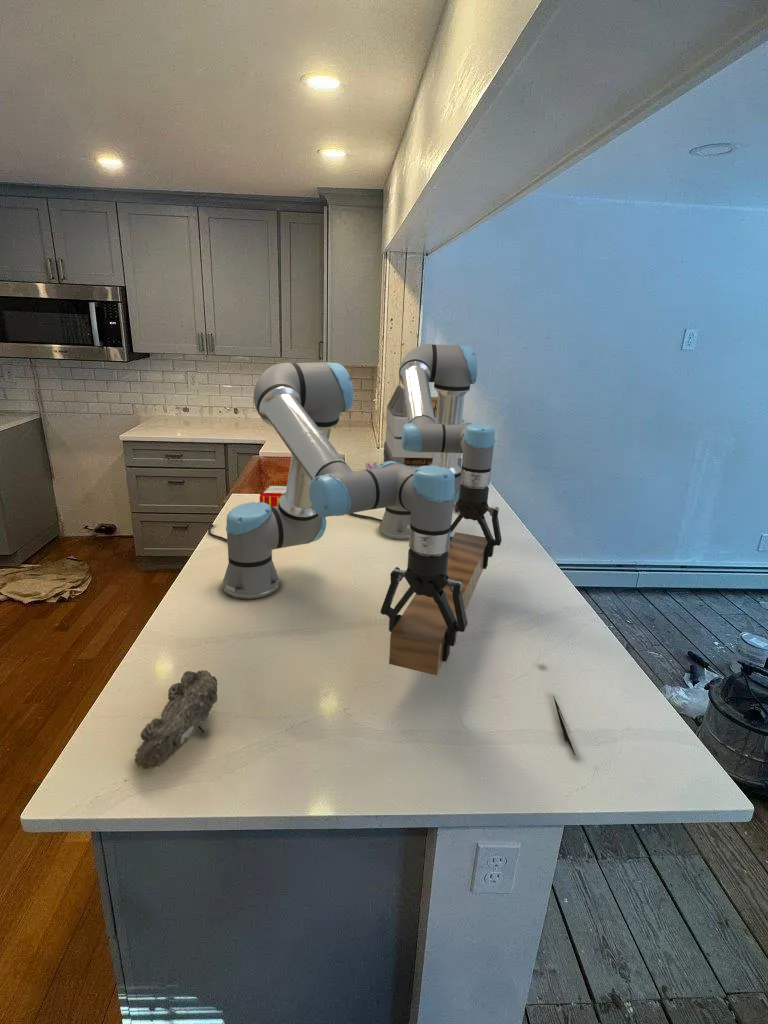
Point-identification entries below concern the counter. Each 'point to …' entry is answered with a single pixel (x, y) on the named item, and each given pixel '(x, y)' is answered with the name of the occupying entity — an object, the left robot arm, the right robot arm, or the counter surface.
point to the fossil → (178, 718)
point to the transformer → (395, 422)
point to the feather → (563, 726)
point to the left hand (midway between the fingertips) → (420, 651)
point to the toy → (272, 495)
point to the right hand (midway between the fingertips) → (466, 563)
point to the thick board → (436, 610)
